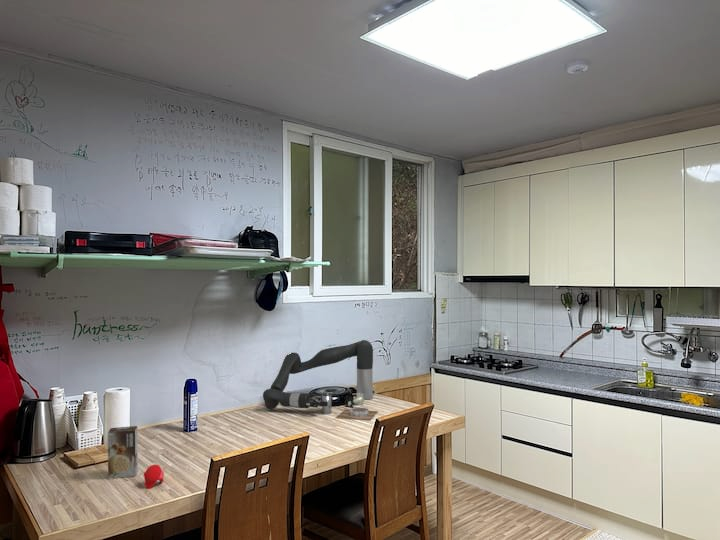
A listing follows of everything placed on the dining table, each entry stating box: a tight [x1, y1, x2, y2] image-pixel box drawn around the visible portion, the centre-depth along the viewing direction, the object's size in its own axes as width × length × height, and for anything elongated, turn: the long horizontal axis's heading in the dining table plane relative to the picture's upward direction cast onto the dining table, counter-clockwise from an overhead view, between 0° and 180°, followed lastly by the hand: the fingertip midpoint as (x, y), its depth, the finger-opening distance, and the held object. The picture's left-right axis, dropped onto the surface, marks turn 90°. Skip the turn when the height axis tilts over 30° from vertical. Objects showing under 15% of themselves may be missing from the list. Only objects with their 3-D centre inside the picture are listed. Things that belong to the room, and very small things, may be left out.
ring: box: [349, 406, 370, 417], centre depth 253 cm, size 9×9×2 cm
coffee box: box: [107, 425, 139, 479], centre depth 179 cm, size 9×6×16 cm
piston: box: [321, 391, 332, 415], centre depth 258 cm, size 5×5×11 cm
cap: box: [143, 464, 165, 490], centre depth 170 cm, size 8×6×6 cm
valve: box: [343, 392, 364, 409], centre depth 273 cm, size 7×7×12 cm
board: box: [335, 409, 379, 422], centre depth 254 cm, size 18×18×1 cm
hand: (330, 402), depth 257 cm, fingers open, 8 cm apart
